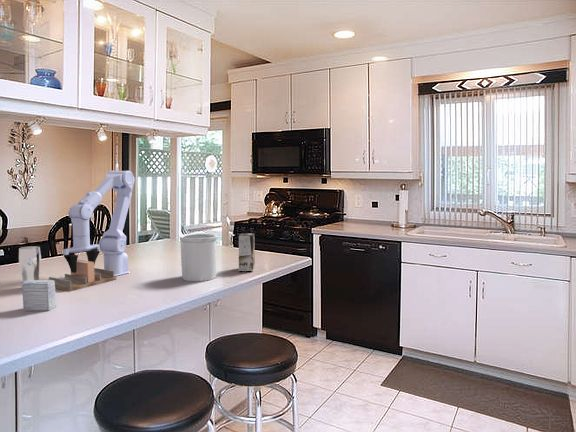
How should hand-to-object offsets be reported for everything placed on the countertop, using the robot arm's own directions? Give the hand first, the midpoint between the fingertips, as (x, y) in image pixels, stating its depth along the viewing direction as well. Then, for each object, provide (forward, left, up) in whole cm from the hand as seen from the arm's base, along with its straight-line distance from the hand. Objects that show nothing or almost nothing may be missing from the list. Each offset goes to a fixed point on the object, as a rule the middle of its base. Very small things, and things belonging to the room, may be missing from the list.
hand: (82, 270), depth 166 cm
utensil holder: (-29, +33, -5) cm, 44 cm away
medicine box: (+28, +17, -5) cm, 33 cm away
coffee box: (-51, +42, -5) cm, 66 cm away
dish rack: (0, 0, -5) cm, 5 cm away
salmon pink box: (0, 0, -4) cm, 4 cm away
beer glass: (+14, -10, -5) cm, 18 cm away
